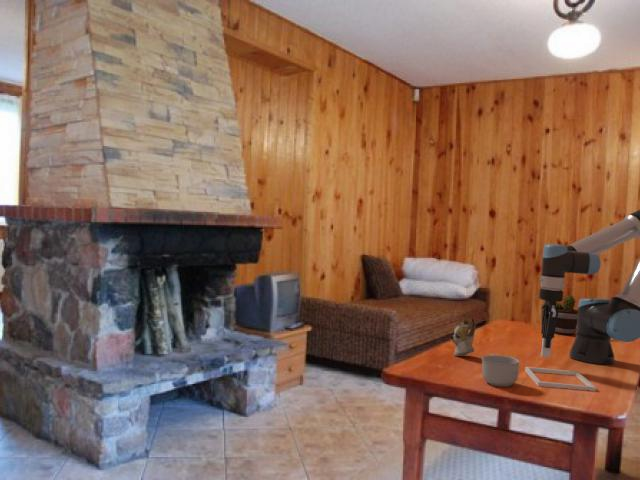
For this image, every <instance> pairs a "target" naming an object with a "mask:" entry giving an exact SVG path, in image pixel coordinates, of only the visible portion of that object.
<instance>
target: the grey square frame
mask: <svg viewBox="0 0 640 480" xmlns="http://www.w3.org/2000/svg"><path fill="white" fill-rule="evenodd" d="M524 370H525V372H526V374H528V376H529V378H530V379H531V380H532V381H533V382H534V383H535V385H537V387H542V386H543V387H545V388H553V387H554V388H555V389H564V388H568V389H567V390H576V389H579V391H587V390H590V391H591V392H596V391H597V386H595V385H594V384H593V383H592V382H590V381H589V380H588V379H587V378H586V377H585V376H583V375H582V373H580V372H579V371H578V370H576V371H575V370H566V369H555V368H554V369H553V368H543V367H534V366H533V367H532V366H525V368H524ZM534 373H540V374H551V373H552V374H553V375H565V376H566V375H567V376H575V377H576V376H577V377H576V378H578V379H579V380H580V382H582V383H584V385H580V384H573V383H572V384H569V383H559V382H551V381H550V382H549V381H541V380H540V379H539V378H538V376H536V374H534ZM554 388H553V389H554Z"/></svg>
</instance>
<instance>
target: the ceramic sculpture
mask: <svg viewBox="0 0 640 480" xmlns="http://www.w3.org/2000/svg"><path fill="white" fill-rule="evenodd" d="M462 316H463V319H462V320H461V321H462V322H461V323H459V324H457V325H456V326H455V327H454V329H453V335H451V336H450V337H451V341H452V343H453V344H454V345H455V349H454V353H453V356H454V357H461V356H466V355H469V354H470V353H474V352H475V349H474V346H473V341H474V339H475V332H476V323H475V320H474V318H473V317H472V318H471V319H470V321H469V320H468V317H467V315H466V314H465V313H463V314H462Z"/></svg>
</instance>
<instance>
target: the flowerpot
mask: <svg viewBox="0 0 640 480" xmlns="http://www.w3.org/2000/svg"><path fill="white" fill-rule="evenodd" d="M576 304H577V299H576V298H575V296H574V295H572V293H568V294H567V296H565V297H563V300H562V303H561V302H558V301H557V302H556V307H557V312H558V313H559V314H558V317H557V322H556V328H555V334H554V335H560V336H561V335H562V336H574V335H575V334H576V332H577V317H578V309H575V307H576V306H577V305H576Z"/></svg>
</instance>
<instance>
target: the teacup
mask: <svg viewBox="0 0 640 480" xmlns="http://www.w3.org/2000/svg"><path fill="white" fill-rule="evenodd" d="M519 364H520V360H519V359H518V358H516V357H513V356H509V355H501V354H498V355H497V354H496V353H491V354H490V355H485V356H484V355H483V356H482V358H481V372H482V378H483V379H484V381H486V382H487V384H489V385H491V386H495V387H500V388H501V387H502V388H509V387H511V386H513V384H516V382H517V381H518V378H519V366H520V365H519Z"/></svg>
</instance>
